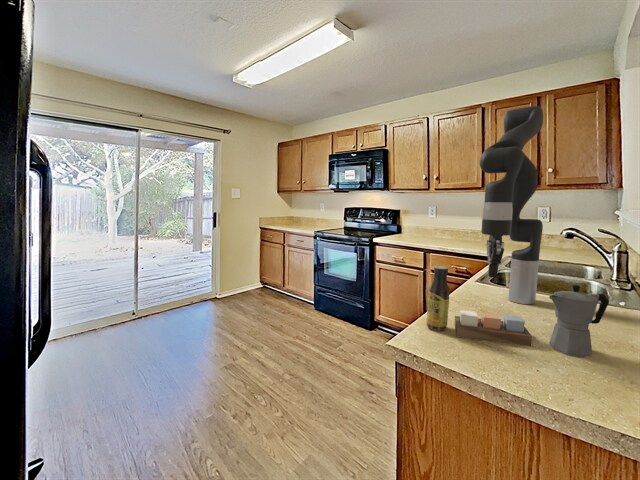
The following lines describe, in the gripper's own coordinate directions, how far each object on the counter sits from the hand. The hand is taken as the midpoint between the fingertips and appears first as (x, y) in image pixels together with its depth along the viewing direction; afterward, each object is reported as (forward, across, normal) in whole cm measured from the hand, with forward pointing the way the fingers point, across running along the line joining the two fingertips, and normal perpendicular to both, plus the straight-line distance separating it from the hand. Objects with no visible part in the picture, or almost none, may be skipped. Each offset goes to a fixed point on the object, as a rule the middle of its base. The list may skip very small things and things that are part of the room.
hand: (492, 276), depth 93 cm
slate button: (+16, 0, -6) cm, 17 cm away
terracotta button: (+16, 0, 0) cm, 16 cm away
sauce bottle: (+18, 0, +15) cm, 23 cm away
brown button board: (+18, 0, 0) cm, 18 cm away
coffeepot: (+18, -3, -20) cm, 27 cm away
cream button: (+16, 0, +6) cm, 17 cm away
